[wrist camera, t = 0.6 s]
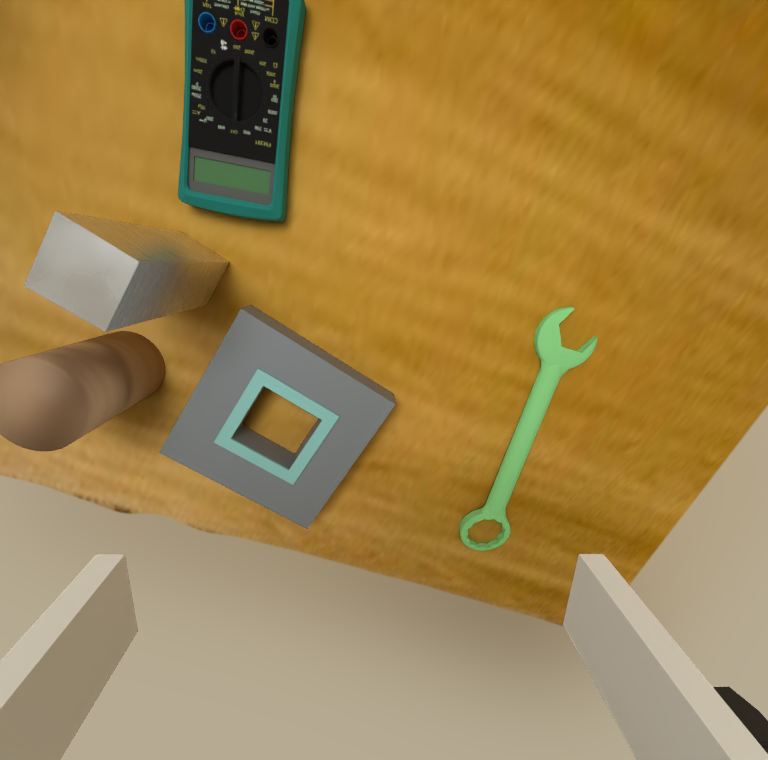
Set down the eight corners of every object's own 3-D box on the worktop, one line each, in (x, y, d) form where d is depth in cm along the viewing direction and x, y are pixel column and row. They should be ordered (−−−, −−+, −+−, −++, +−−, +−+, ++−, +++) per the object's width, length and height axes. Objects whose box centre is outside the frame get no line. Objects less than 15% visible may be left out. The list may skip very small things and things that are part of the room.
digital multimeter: (309, -3, 27) (302, -35, 24) (286, 226, 31) (278, 222, 28) (199, -29, 26) (179, -64, 24) (191, 208, 30) (173, 203, 28)
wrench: (596, 316, 35) (542, 299, 34) (610, 318, 33) (553, 300, 32) (497, 549, 41) (449, 539, 40) (504, 563, 39) (453, 552, 38)
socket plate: (174, 437, 35) (157, 453, 32) (251, 304, 32) (240, 309, 29) (311, 510, 38) (306, 530, 35) (393, 393, 35) (395, 405, 32)
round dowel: (82, 375, 33) (-33, 420, 24) (110, 317, 32) (1, 340, 22) (147, 410, 34) (63, 467, 25) (177, 355, 33) (100, 393, 24)
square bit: (159, 276, 31) (23, 286, 19) (182, 232, 30) (55, 210, 18) (206, 305, 32) (105, 331, 20) (229, 262, 31) (139, 261, 19)
